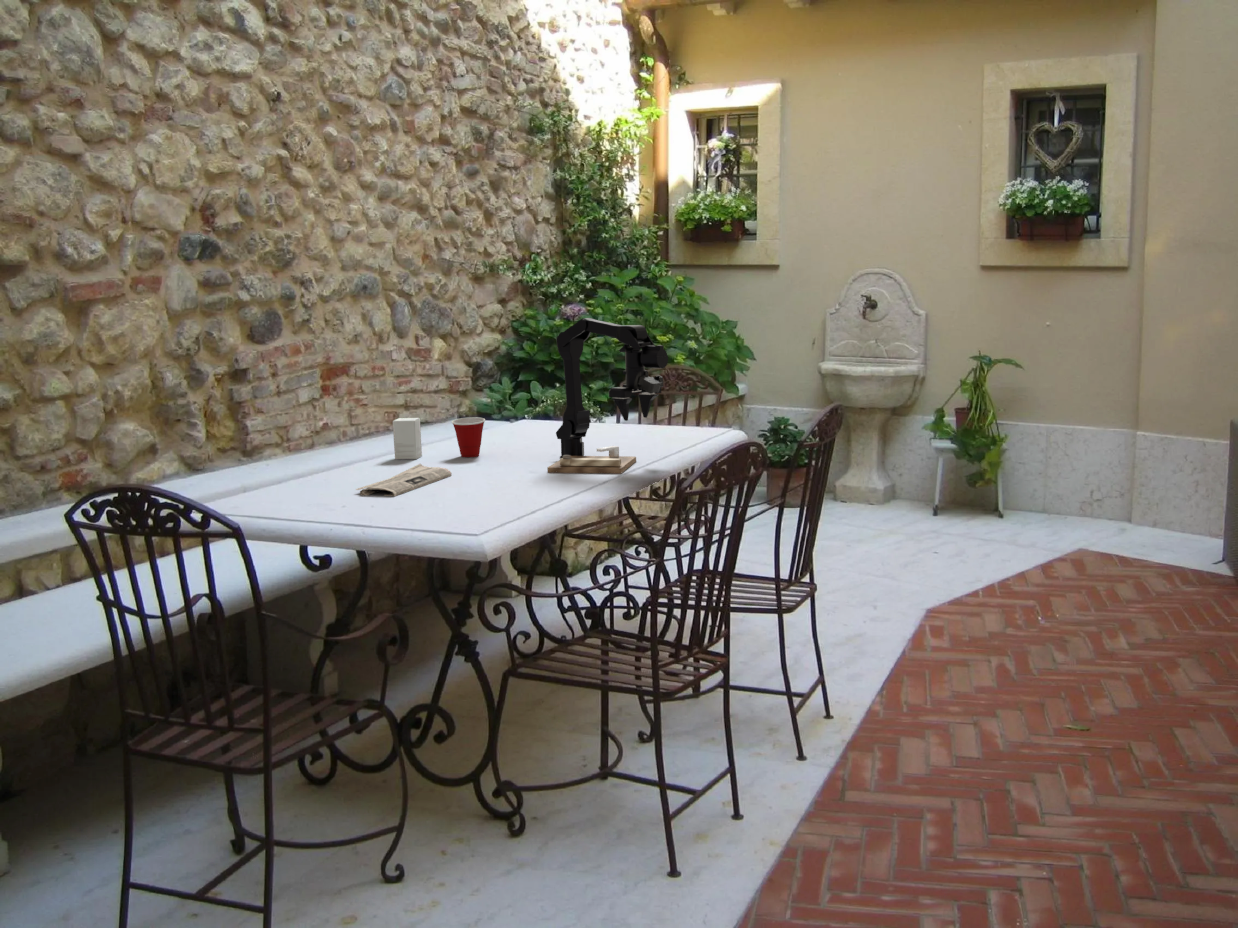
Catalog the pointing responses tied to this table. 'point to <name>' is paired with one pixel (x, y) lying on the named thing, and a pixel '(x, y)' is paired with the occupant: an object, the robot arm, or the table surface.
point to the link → (589, 461)
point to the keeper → (611, 451)
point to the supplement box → (407, 438)
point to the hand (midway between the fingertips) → (635, 419)
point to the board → (625, 463)
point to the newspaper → (407, 480)
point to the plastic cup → (469, 435)
